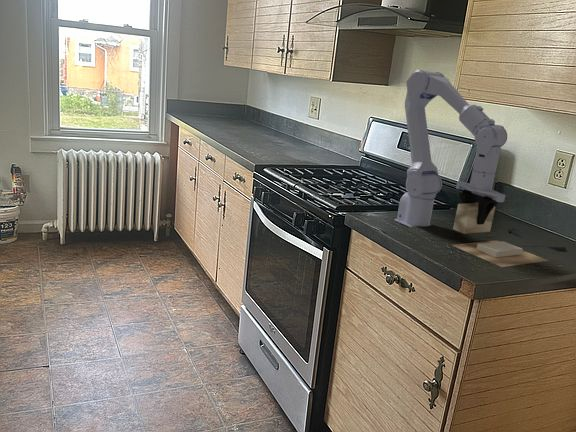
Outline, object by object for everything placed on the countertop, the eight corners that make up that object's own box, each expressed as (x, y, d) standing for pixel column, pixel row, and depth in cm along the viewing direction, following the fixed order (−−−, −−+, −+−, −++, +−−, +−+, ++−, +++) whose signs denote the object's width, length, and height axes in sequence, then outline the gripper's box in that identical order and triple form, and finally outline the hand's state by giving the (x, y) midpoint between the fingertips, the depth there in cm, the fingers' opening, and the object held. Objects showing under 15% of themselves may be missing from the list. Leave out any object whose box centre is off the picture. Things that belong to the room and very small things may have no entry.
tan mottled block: (452, 229, 146) (458, 203, 144) (478, 227, 151) (483, 202, 150) (464, 233, 143) (469, 207, 141) (490, 231, 148) (495, 206, 146)
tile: (477, 243, 139) (496, 251, 135) (503, 241, 145) (522, 248, 140) (476, 250, 140) (495, 258, 135) (502, 247, 145) (521, 254, 140)
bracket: (527, 236, 166) (529, 227, 165) (565, 253, 152) (567, 243, 152) (488, 236, 161) (490, 227, 161) (523, 253, 148) (525, 243, 147)
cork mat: (450, 248, 142) (451, 244, 142) (496, 243, 151) (497, 240, 151) (501, 271, 129) (502, 267, 129) (547, 264, 138) (548, 260, 138)
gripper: (452, 165, 147) (442, 214, 150) (496, 178, 135) (485, 230, 139) (470, 165, 150) (460, 213, 154) (514, 177, 139) (503, 229, 142)
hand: (473, 221), depth 146 cm, fingers closed on tan mottled block, 4 cm apart
